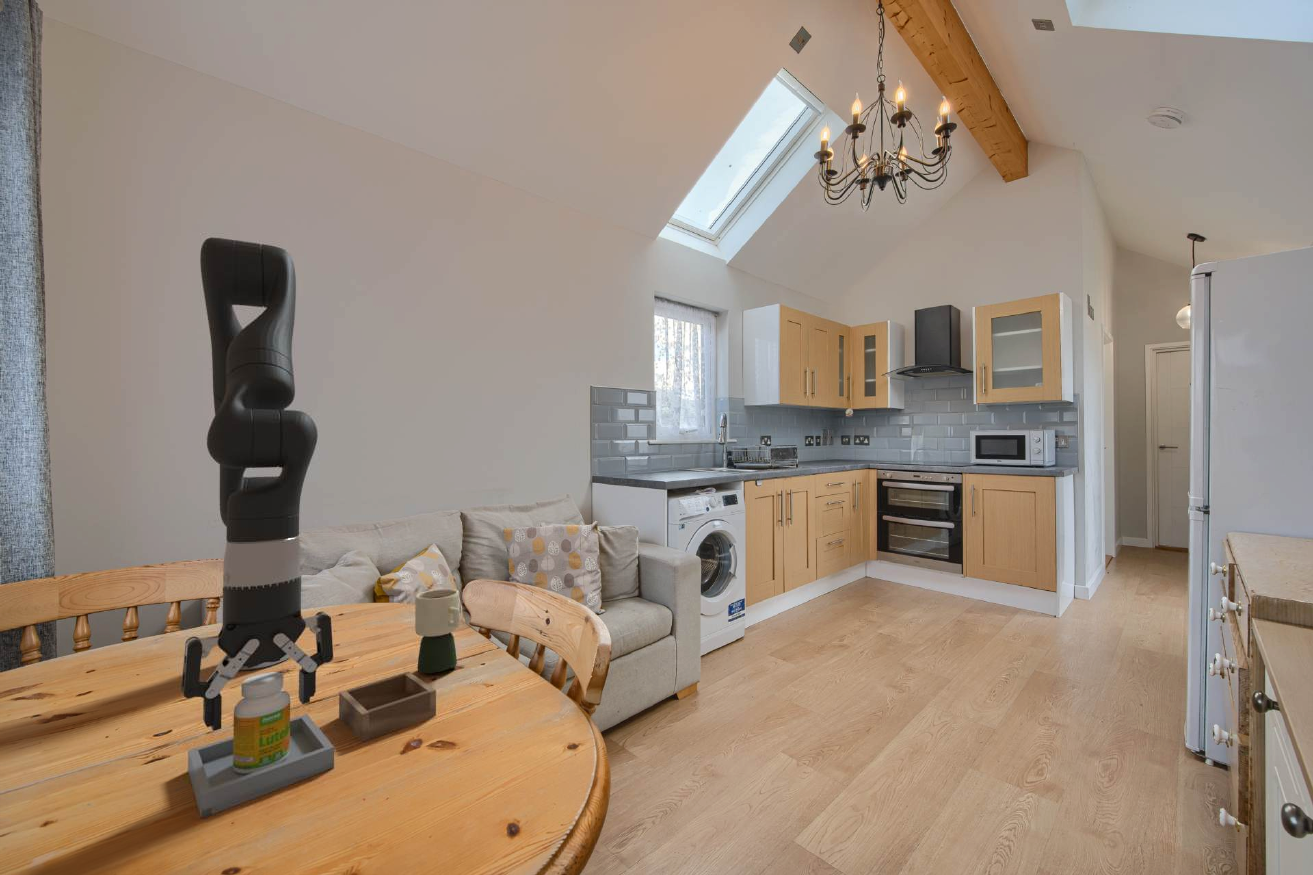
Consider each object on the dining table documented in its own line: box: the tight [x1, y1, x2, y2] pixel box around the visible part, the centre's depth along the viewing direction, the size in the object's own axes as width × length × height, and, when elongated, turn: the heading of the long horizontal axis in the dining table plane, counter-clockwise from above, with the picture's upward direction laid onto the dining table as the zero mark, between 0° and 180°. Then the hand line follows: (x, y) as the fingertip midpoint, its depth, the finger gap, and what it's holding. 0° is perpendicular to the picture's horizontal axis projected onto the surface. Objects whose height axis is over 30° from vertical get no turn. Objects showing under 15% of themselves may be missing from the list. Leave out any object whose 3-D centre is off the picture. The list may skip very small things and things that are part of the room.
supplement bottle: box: [233, 671, 291, 774], centre depth 63 cm, size 5×5×10 cm
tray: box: [187, 713, 335, 819], centre depth 63 cm, size 12×12×2 cm
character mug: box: [414, 588, 461, 674], centre depth 92 cm, size 11×7×13 cm, turn 59°
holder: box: [338, 671, 437, 743], centre depth 76 cm, size 10×10×4 cm
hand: (262, 714), depth 63 cm, fingers open, 8 cm apart
